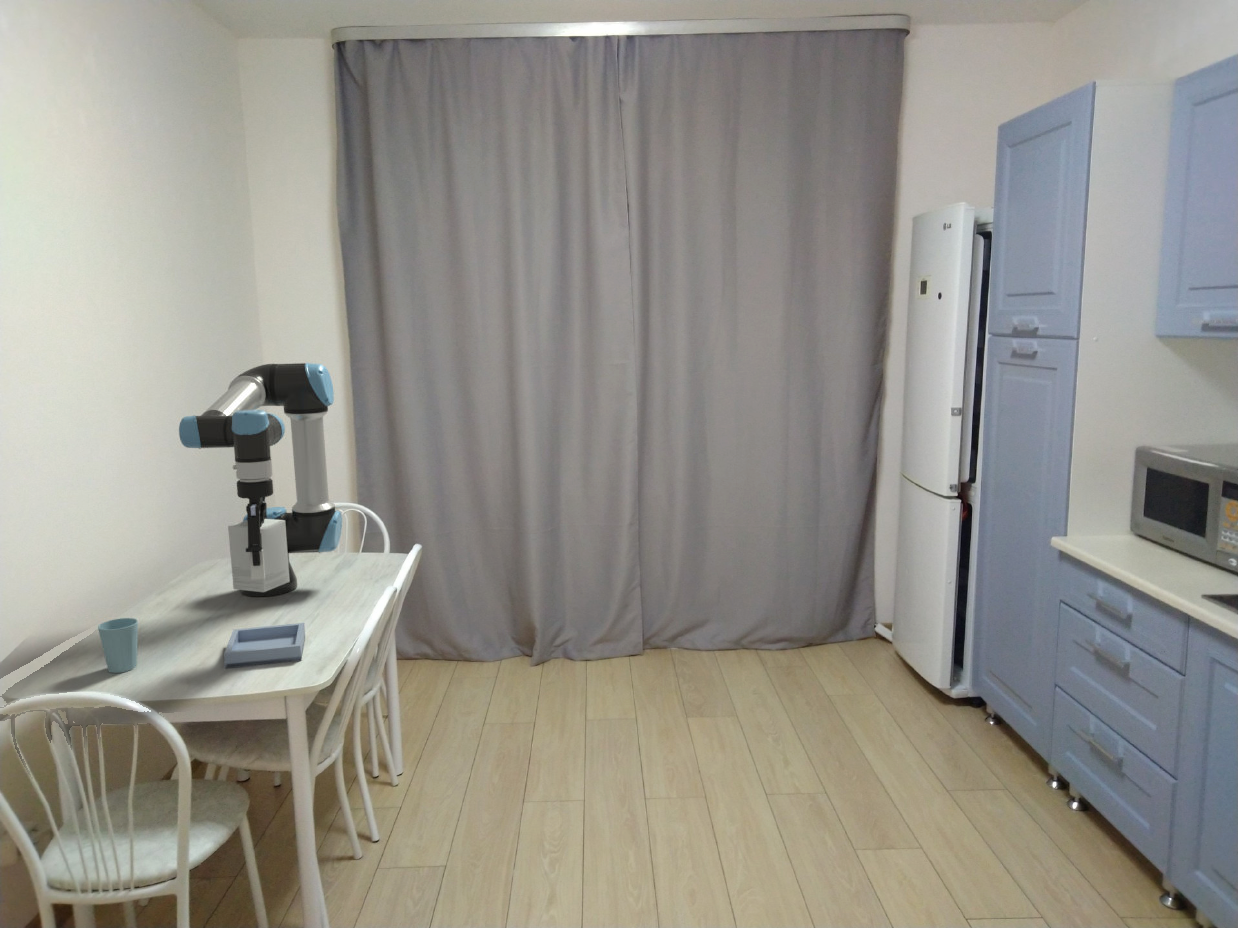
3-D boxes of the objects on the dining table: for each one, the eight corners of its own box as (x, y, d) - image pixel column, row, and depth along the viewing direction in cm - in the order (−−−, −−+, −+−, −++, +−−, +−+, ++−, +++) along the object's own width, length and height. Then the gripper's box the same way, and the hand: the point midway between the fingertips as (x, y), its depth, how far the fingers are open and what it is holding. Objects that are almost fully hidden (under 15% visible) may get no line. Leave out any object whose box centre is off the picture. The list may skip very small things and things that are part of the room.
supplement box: (291, 582, 205) (287, 519, 202) (264, 593, 196) (259, 528, 194) (259, 578, 207) (255, 516, 205) (231, 589, 199) (226, 525, 197)
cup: (99, 667, 196) (94, 622, 194) (137, 658, 200) (133, 615, 199) (106, 677, 190) (101, 631, 188) (145, 668, 195) (141, 624, 193)
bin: (234, 643, 210) (233, 629, 209) (305, 636, 214) (304, 622, 214) (225, 668, 195) (223, 653, 194) (301, 660, 199) (300, 645, 199)
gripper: (243, 471, 208) (249, 559, 212) (229, 489, 185) (236, 587, 189) (276, 469, 210) (282, 556, 214) (267, 487, 187) (273, 584, 191)
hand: (261, 571), depth 201 cm, fingers closed on supplement box, 12 cm apart
